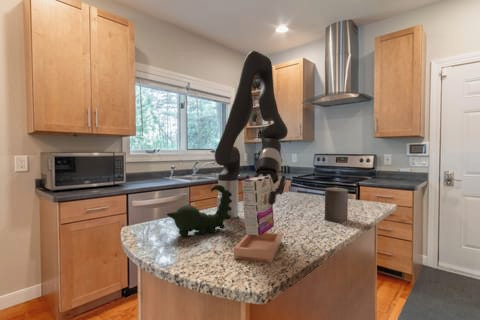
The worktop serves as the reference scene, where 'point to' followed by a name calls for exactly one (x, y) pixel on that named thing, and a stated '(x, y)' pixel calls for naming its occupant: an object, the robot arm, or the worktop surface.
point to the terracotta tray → (258, 247)
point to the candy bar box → (257, 205)
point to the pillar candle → (336, 204)
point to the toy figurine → (202, 216)
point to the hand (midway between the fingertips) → (261, 202)
